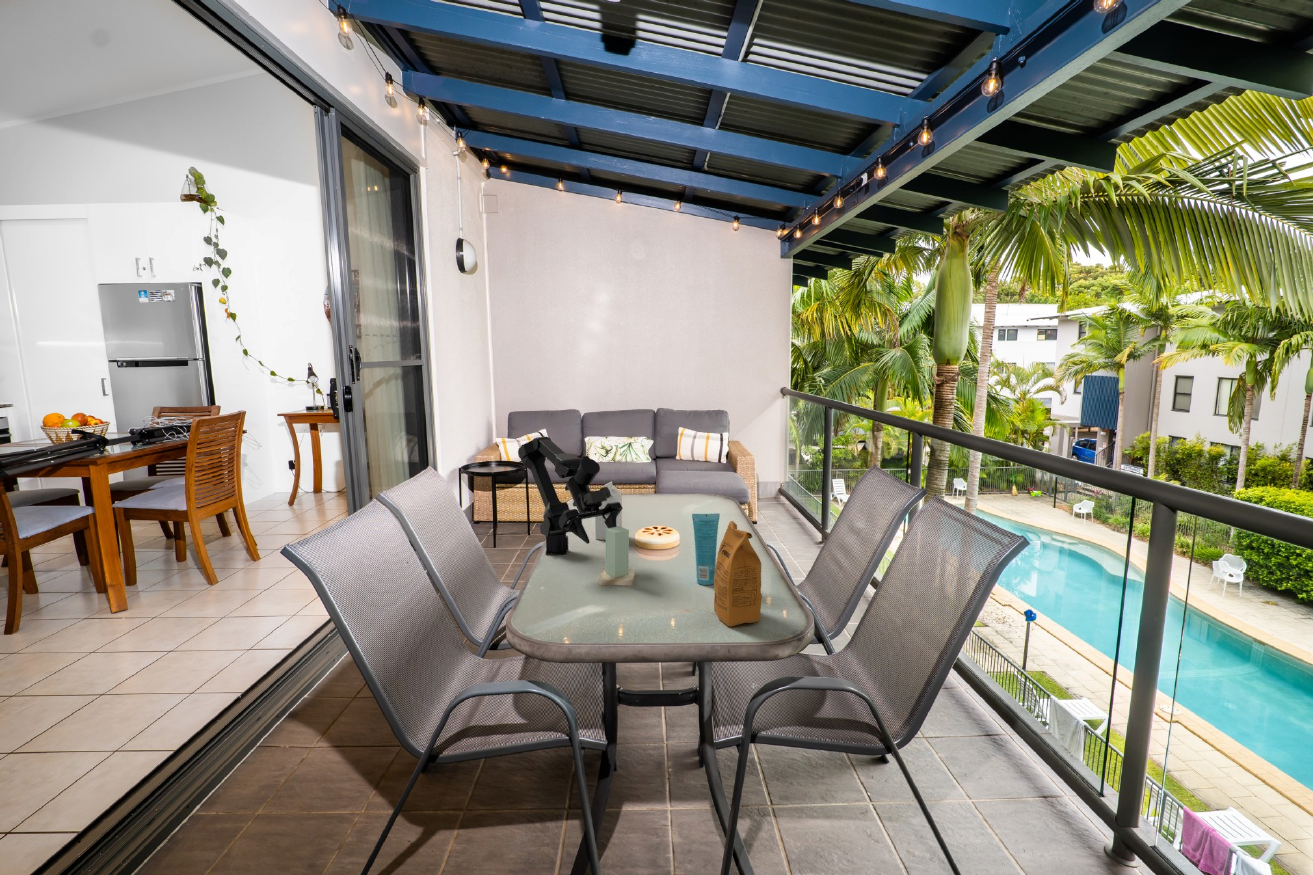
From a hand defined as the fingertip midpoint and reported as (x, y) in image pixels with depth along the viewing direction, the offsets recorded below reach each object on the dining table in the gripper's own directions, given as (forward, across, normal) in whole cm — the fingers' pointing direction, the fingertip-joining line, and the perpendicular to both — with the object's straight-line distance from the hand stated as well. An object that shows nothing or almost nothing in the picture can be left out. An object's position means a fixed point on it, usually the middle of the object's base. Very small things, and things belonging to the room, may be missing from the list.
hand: (602, 540), depth 170 cm
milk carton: (-14, +22, +29) cm, 39 cm away
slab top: (+12, 0, +2) cm, 12 cm away
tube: (+23, +19, -9) cm, 31 cm away
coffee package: (+38, +9, -24) cm, 45 cm away
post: (+10, 0, +1) cm, 11 cm away
